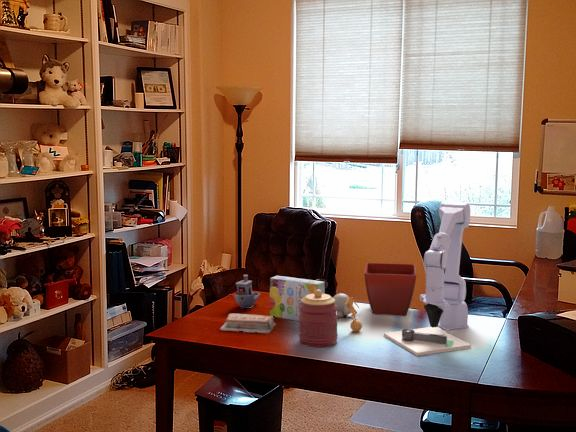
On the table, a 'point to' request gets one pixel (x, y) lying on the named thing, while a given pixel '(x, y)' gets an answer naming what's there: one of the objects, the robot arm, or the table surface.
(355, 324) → the figurine
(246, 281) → the toy boat
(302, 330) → the canister
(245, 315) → the butter dish
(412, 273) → the plant pot
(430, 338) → the lever
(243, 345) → the table surface
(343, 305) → the chubby cartoon animal
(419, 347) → the dial board
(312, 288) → the snack box
